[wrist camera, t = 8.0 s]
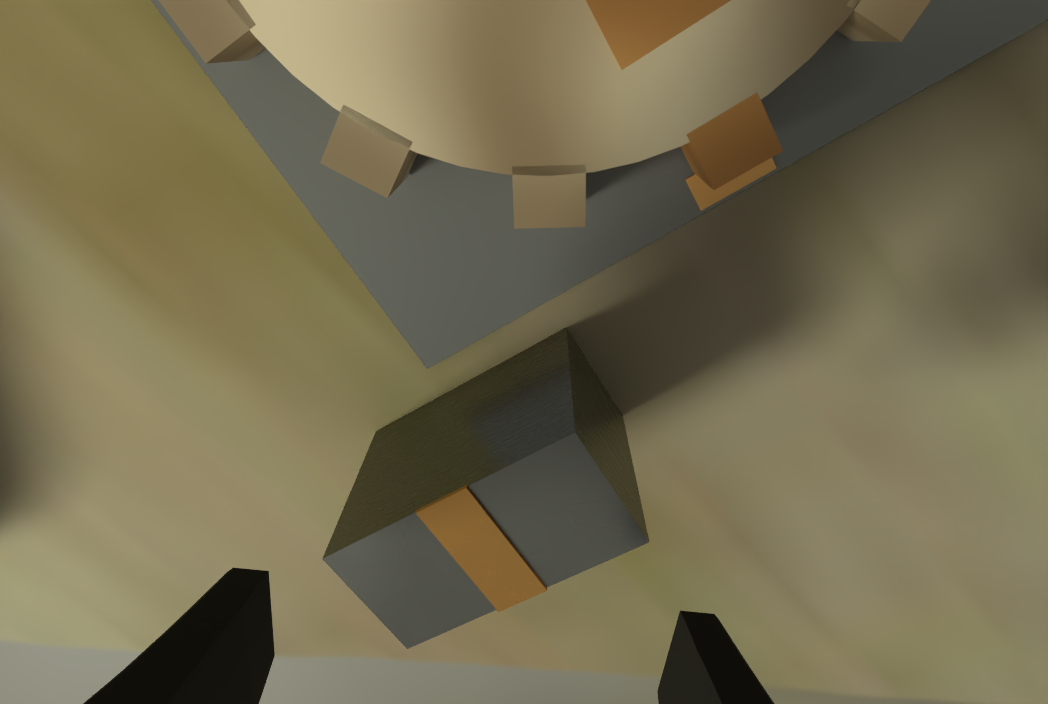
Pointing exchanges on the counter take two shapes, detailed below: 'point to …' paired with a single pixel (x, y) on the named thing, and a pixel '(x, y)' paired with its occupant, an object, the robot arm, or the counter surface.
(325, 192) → the index plate
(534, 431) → the banded gift box
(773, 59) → the sprocket
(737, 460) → the counter surface
